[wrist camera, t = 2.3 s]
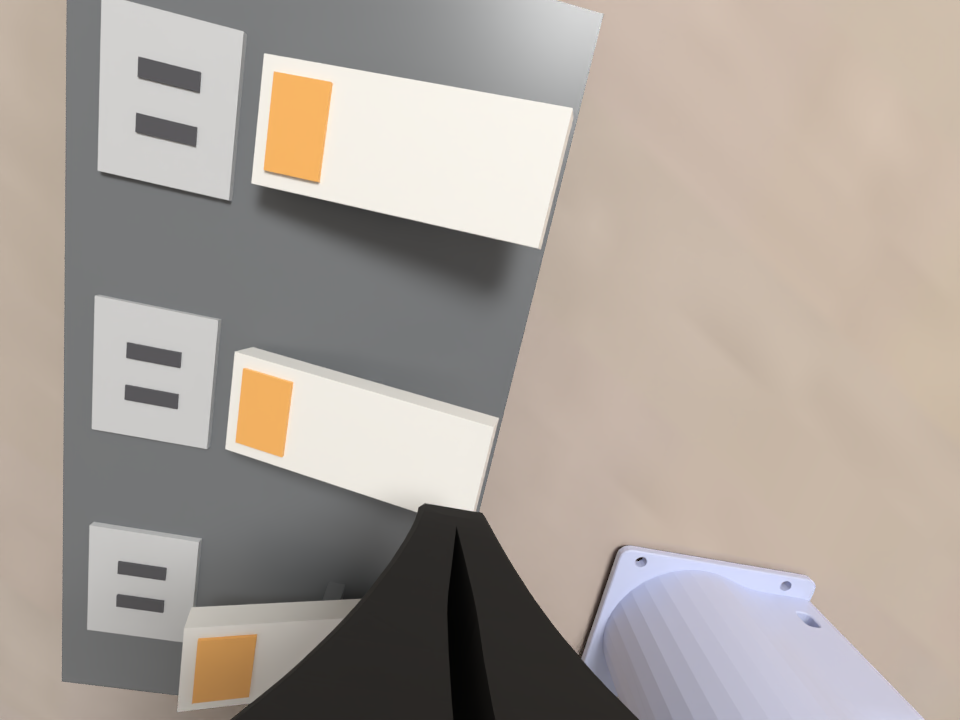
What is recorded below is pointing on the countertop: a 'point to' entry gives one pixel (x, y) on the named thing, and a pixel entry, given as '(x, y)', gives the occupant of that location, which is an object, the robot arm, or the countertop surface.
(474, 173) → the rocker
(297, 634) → the rocker
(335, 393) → the rocker middle
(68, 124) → the power strip
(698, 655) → the robot arm
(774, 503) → the countertop surface
